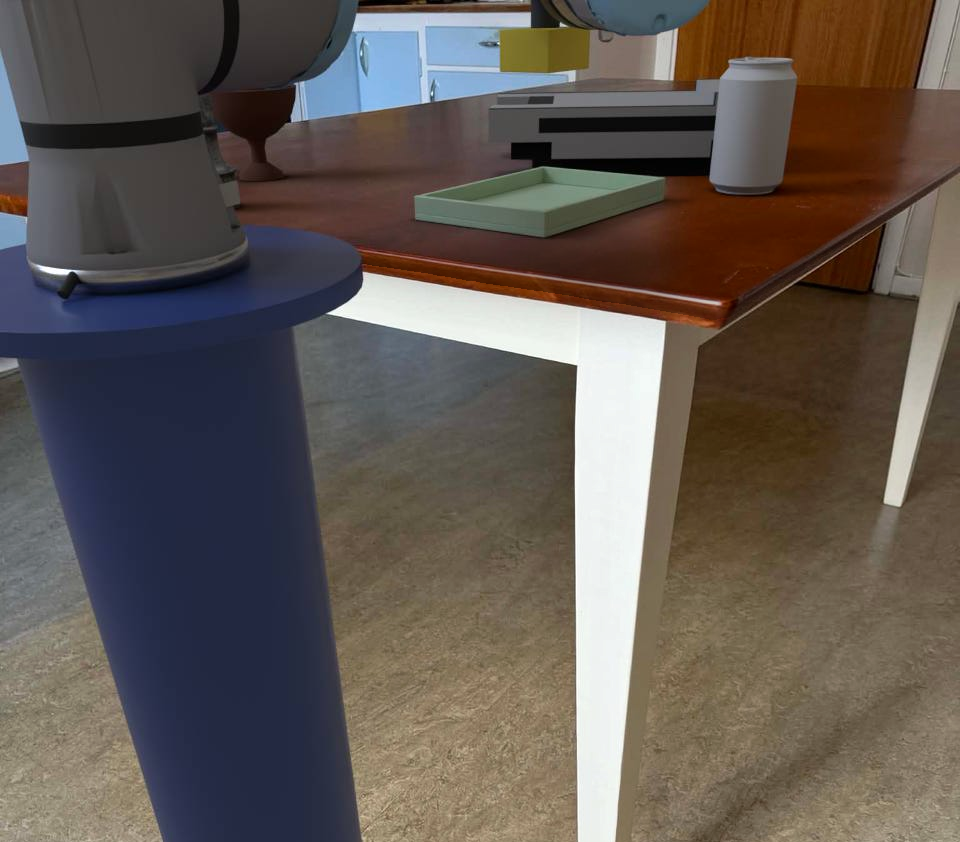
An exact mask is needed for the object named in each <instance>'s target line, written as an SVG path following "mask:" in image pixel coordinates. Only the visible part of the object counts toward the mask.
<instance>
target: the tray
mask: <svg viewBox="0 0 960 842" xmlns="http://www.w3.org/2000/svg"><path fill="white" fill-rule="evenodd" d="M665 187H666V177H663V176H654V175H631V174H620V173H609V172H598V171H587V170H576V169H565V168H554V167H538V168H534V169H532V168H529V169H526V170H521V171H517V172H513V173H508V174H504V175H500V176H495V177H492V178H487V179H483V180H477V181H473V182H470V183H465V184H461V185H457V186H452V187H447V188H444V189H438V190H436V191H435V190H434V191H431V192H427V193H421V194H418V195H414V196H413V201H414V214H415V215H414V216H415V218H414V219H415V220H416V221H423V222H430V223H436V224H442V225H443V224H444V225H451V226H458V227H464V228H473V229H480V230H487V231H494V232H502V233H508V234H515V235H523V236H530V237H537V238H545V239H546V238H548V237H551V236H554V235H557V234H561V233H563V232H566V231H570V230H572V229H573V230H574V229H576V228H579V227H583V226H586V225H589V224H592V223H595V222H599V221H601V220H605V219H608V218H611V217H615V216H618V215H620V214H624V213H627V212H630V211H633V210H636V209H640V208H642V207H646V206H649V205H653V204H656V203H658V202H662V201H664V200H665V190H666V189H665Z"/></svg>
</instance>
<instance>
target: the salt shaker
mask: <svg viewBox="0 0 960 842" xmlns="http://www.w3.org/2000/svg"><path fill="white" fill-rule="evenodd" d="M198 100H199V106H200V113H201V119H202V124H203V130H204V136H205V142H206V146H207V149H208V152H209V155H210V157H211V159H212V161H213V163H214V166H215V168H216V170H217V172H218V174H219V176H220V178H221V180H222V183H223V184H224V183H228V182H232V181H236V174H235V173H236V172H237V171H238V168H237V167H236V166H234V165H230V164H229V163H227V162H226V161H225V160H224V157H223V154H222V152H221V149H220V143H219V138H218V129H220V125H218V124H216V123H215V118H214V116H213V110H212V103H211V97H210V94H203V95H198ZM240 204H241V203H240ZM240 204H237V205H233V207H234V209H235V210H237V209H239V208H240V207H241V205H240Z"/></svg>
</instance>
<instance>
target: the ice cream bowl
mask: <svg viewBox="0 0 960 842" xmlns="http://www.w3.org/2000/svg"><path fill="white" fill-rule="evenodd" d="M210 97H211V103H212V110H213V116H214V120H215V121H216V122H217V123H218V124H220V125H221V127H223V128H224V129H225V130H226V131H228V132H230V133H231V134H232V135H234V136H235V137H239V138H241V139H243V140H246V141H247V144H248V145H249V147H250V153H251V160H252V161H251V163H250V164H248V165H247V166H246V167H245V168H244V169H243V170H242V171H240V173H239V178H238V179H239V181H245V182H267V181H268V182H269V181H276V180H280V179H284V178H285V174H284V172H283V170H282V169H280V168H279V167H277V166H276V165H274V164H272V163H271V162H269V161H268V159H267V153H266V143H267V139H269V138H271V137H272V136H275V134H277V133H278V132H279V131H280V130H281V129H283V127H284V126H285V125H286V123H287V122H288V121H289V119H290V118H291V116H292V114H293V111H294V107H295V103H296V99H297V84H296V83H295V84H293V85H291V86H288V87H285V88H281V89H276V90H266V89H263V88H258V89H249V90H239V91H230V92H221V93H212V94H210Z"/></svg>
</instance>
